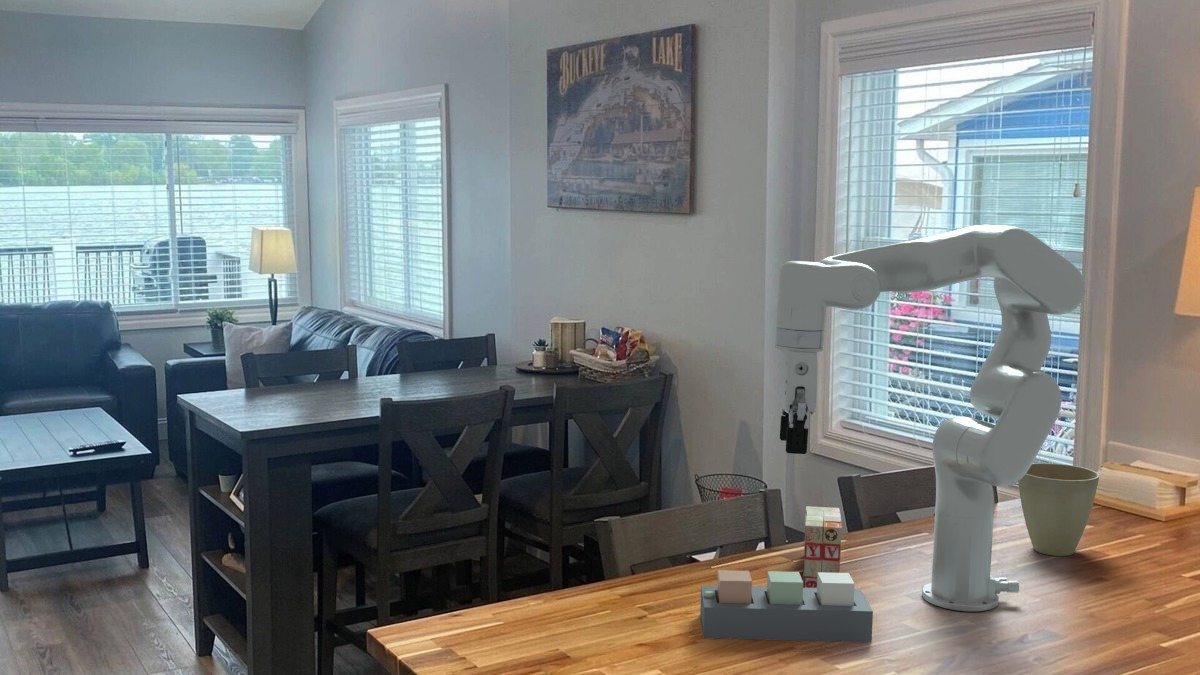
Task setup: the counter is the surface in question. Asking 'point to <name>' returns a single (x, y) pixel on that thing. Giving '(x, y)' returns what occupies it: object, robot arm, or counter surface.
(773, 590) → the key sage
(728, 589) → the beige cube
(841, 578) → the key cream
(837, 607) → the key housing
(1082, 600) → the counter surface
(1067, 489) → the plant pot
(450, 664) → the counter surface
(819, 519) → the stack of blocks
